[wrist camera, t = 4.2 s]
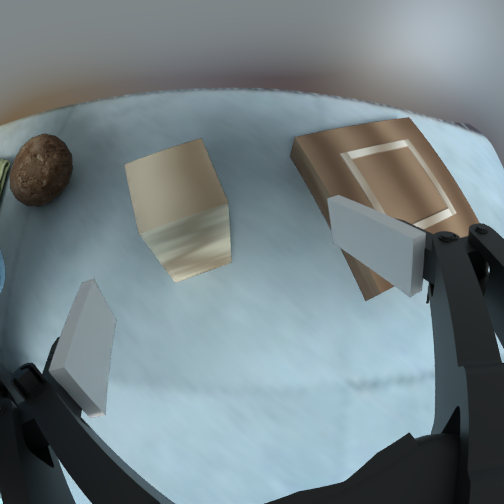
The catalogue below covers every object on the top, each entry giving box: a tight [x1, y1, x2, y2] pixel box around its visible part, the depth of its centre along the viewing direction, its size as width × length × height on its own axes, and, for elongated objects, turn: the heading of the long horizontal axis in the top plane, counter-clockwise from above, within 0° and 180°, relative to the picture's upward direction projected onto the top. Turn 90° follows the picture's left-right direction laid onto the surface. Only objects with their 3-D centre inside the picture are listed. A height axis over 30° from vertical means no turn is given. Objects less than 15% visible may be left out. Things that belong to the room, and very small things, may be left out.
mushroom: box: [10, 134, 73, 207], centre depth 25 cm, size 8×8×6 cm
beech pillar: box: [124, 138, 232, 283], centre depth 21 cm, size 5×5×10 cm
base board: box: [290, 117, 479, 301], centre depth 26 cm, size 16×16×3 cm
